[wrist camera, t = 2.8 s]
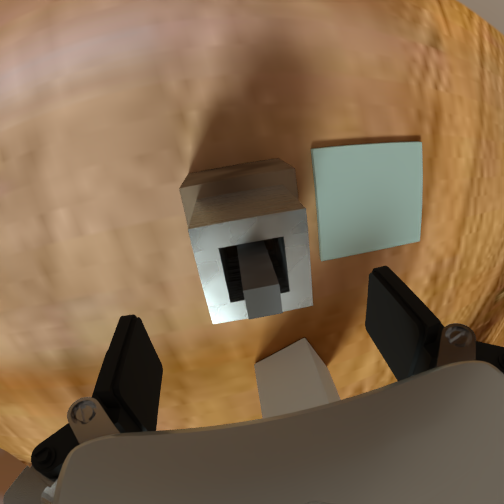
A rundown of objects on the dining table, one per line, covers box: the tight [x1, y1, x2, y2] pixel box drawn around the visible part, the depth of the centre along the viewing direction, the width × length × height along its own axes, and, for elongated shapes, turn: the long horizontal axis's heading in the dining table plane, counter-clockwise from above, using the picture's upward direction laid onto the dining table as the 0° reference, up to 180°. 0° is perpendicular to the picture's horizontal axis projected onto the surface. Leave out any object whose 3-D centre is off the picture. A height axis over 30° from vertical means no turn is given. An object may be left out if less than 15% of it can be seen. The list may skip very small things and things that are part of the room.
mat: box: [311, 141, 423, 261], centre depth 28 cm, size 12×11×1 cm
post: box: [179, 158, 299, 319], centre depth 20 cm, size 8×8×15 cm
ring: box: [188, 184, 313, 324], centre depth 19 cm, size 6×6×6 cm
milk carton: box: [254, 338, 340, 418], centre depth 27 cm, size 7×7×19 cm
